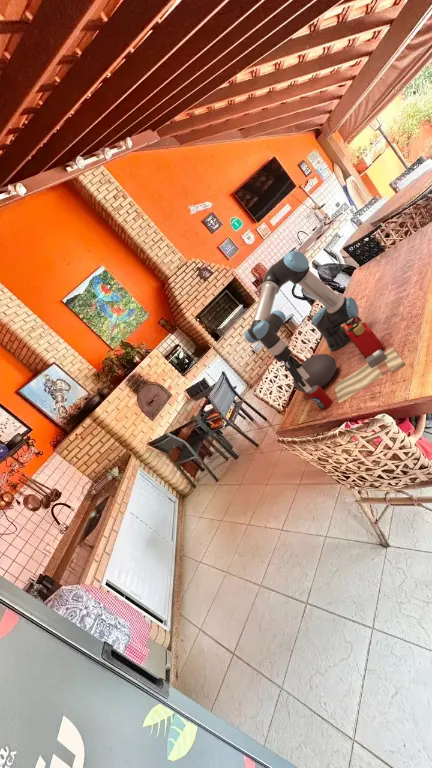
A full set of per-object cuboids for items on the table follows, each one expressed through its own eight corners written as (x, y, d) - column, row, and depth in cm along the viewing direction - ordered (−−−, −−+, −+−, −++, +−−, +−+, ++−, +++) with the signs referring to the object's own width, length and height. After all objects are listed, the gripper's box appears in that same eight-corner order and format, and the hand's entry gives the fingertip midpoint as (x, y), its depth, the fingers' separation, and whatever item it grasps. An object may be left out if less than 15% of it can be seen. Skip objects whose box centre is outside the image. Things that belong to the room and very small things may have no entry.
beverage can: (320, 409, 186) (305, 391, 183) (331, 400, 185) (315, 382, 182) (325, 413, 179) (309, 395, 176) (336, 404, 178) (320, 386, 175)
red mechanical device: (386, 349, 183) (362, 318, 179) (367, 362, 187) (343, 332, 182) (378, 339, 197) (355, 310, 193) (361, 351, 201) (338, 322, 196)
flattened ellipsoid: (339, 388, 188) (320, 366, 184) (299, 405, 205) (281, 386, 201) (346, 360, 205) (329, 340, 202) (308, 378, 222) (292, 360, 219)
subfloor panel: (335, 387, 191) (334, 385, 191) (394, 349, 178) (392, 347, 178) (340, 405, 175) (338, 403, 175) (405, 364, 162) (403, 362, 162)
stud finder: (369, 364, 182) (364, 357, 181) (384, 354, 179) (379, 347, 178) (371, 368, 177) (366, 362, 176) (387, 358, 174) (382, 351, 173)
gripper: (273, 346, 186) (300, 377, 191) (272, 366, 164) (302, 401, 169) (286, 336, 183) (313, 368, 188) (286, 355, 161) (317, 391, 166)
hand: (308, 384), depth 178 cm, fingers open, 13 cm apart
